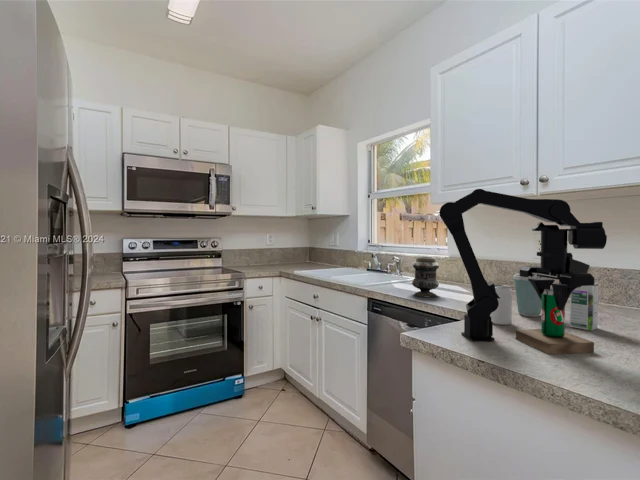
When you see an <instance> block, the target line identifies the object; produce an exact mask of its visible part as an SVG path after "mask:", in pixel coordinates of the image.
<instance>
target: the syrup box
mask: <svg viewBox="0 0 640 480" xmlns="http://www.w3.org/2000/svg"><path fill="white" fill-rule="evenodd" d="M569 298H570V300H569V303H570V305H569V308H570V310H569V328H575V329H579V330H585V331H589V332H592V331H594V330H596V329H598V323H599V321H598V319H599V318H598V317H599V281H594V286H581V287H577V288H576V289H574V290H573V291H572V293H571V294H570V296H569Z"/></svg>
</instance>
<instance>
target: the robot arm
mask: <svg viewBox="0 0 640 480" xmlns="http://www.w3.org/2000/svg"><path fill="white" fill-rule="evenodd" d="M478 205H484V206H489V207H493V208H496V209H497V208H498V209H502V210H508V211H513V212H518V213H522V214H525V215H528V216H530V217H533V218H535V219H537V220H539V222H538V223H537V225H535V226H534V227H533V228H531V231H532V232H540V251H537V252H536V256H538V257H540V266H537V265H536V266H521V267H520V268H519V274H520V276H522V277H528V276H531V279H528V281H530V282H531V284H532V285H533V287H534V289H535V290H536V292H537V294H538V296H539V298H540V300H541V302H542V292H543V291H544V289H553V292H554V296H555V301H556V304H557V307H558V309H559V310H560V311H561V310H563V309H564V307H565V308H566V304H567V303H568V300H569V298H570V294H571V293H572V291H573V290H574V289H576V288H577V287H581V286H594V282H595V276H594V274H592V273H588V271H589V269H590V264H588V263H585V262H582V261H580V260H577V259H575V258H573V257H574V256H573V254H572V252H568V244H569V245H572V247H573V248H574V249H575V250H603V249H605V247H606V244H607V239H608V236H607V234H606V230H605V228H604V227H603V225H604V223H603V222H602V221H593V222H580V221H579V220H578V219H577V218H576V216H575V215H574V214H573V213H572V212H571V206H570V205H569V204H568V202H567V201H565V200H563V199H555V198H554V199H552V198H551V199H550V198H526V197H520V196H517V195H516V196H515V195H510V194H505V193H500V192H494V191H489V190H484V189H482V188H477V189H474V190H473V191H472V192H470V193H469V194H467V195H464V196H463V197H461V198H459V199H458V200H456V201H455V202H454V201H449V202H445V203H443V204H442V205H441V207H440V208H439V216H440V218H441V221H442V222H443V224H444V225H445V226H446V228H447V230H448V231H449V233H450V234H451V236H452V239H453V240H454V243H455V245H456V248H457V251H458V254H459V256H460V258H461V260H462V264H463V265H464V269H465V270H466V274H467V276H468V278H469V281H470V287H471V292H472V296H473V299H471V300H470V301H469V302H468V303H466V305H465V308H466V314H465V313H464V315H463V318H464V319H463V323H464V324H463V325H464V327H463V328H464V329H463V330H464V331H463V332H461V333H460V334H461V335H462V336H463V337H465V338H467V339H468V340H470V341H472V342H479V341H480V342H481V341H482V342H483V341H485V342H486V341H495V340H496V339H495V337H493V336H494V335H493V334H494V333H493V331H494V330H493V329H494V327H493V325H494V324H493V322H492V321H491V316H490V314H491V313H492V312H494V311H495V310H496V309H497V308H498V306H499V303H498V299H500V297H499V296H498V294H497V293H496V290H495V285H496V284H494V282H493V281H492V280H491V281H489V282H487V280H486V279H485V277H484V274H483V272H482V270H481V267H480V265H479V262H478V260H477V257H476V254H475V253H474V250H473V246H472V245H471V241H470V240H469V238H468V235H467V232H466V228H465V224H464V217H463V214H464V213H465V212H468V211H469V210H471V209H473V208H474V207H476V206H478ZM540 220H541V221H540ZM543 222H545V223H551V224H544V223H543ZM559 227H569V228H559ZM556 280H558V283H554V282H555V281H556ZM551 286H552V287H551ZM497 298H498V299H497Z"/></svg>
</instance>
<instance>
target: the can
mask: <svg viewBox="0 0 640 480" xmlns="http://www.w3.org/2000/svg"><path fill="white" fill-rule="evenodd" d="M494 285H495V290H496V293H497V294H498V296H499V297H500V299H498V298H497V299H498V303H499V306H498V308H497V309H496V310H495V311H494V312H492V313H491V314H490V316H491V321H492V322H493V325H499V326H510V325H511V324H512V321H513V320H512V318H513V292H512V291H513V290H512V289H511V286H509V285H504V284H502V285H501V284H494Z"/></svg>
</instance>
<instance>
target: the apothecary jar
mask: <svg viewBox="0 0 640 480" xmlns="http://www.w3.org/2000/svg"><path fill="white" fill-rule="evenodd" d="M412 268H413V269H414V271H415V273H414V279H412V281H411V284H412V286H413V287H414V288H417V289H418V290H420V291H417V292H415V293H414V296H416V295H417V296H416V297H421V296H429V297H428V298H431V297H430V296H435V297H437V294H436V293H434V292H432V291H433V290H435V289H438V287H439V285H440V282H439V280H437V270H438V269H439V268H440V264H439V263H438V261H437V260H436V257H434V256H428V255H427V256H424V255H423V256H422V255H421V256H419V255H418V256H416V258H415V261H414V262H413V263H412Z"/></svg>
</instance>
